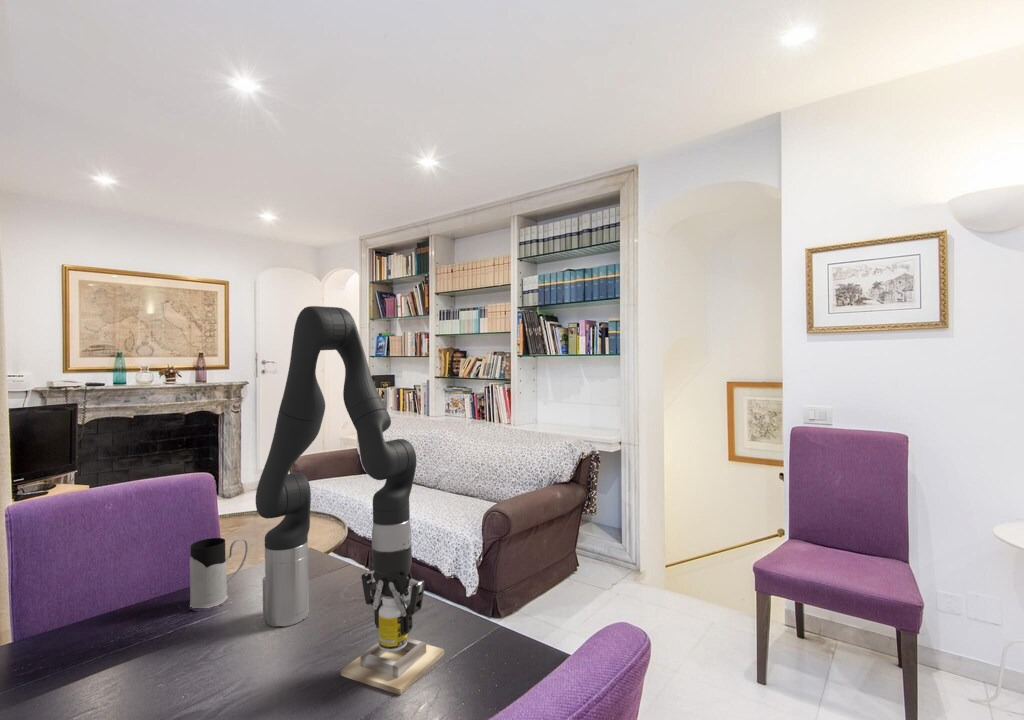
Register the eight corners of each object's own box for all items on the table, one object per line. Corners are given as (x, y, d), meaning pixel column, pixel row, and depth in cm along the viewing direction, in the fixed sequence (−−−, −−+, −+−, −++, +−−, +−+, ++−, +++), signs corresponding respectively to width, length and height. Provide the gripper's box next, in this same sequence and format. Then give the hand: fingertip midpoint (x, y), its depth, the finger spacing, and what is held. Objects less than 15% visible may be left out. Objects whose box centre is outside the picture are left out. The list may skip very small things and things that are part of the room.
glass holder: (181, 605, 127) (180, 544, 127) (239, 584, 138) (238, 529, 139) (198, 615, 122) (197, 551, 122) (256, 592, 133) (256, 534, 134)
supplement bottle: (400, 654, 97) (399, 602, 97) (374, 651, 98) (373, 600, 98) (412, 639, 102) (410, 589, 102) (386, 636, 103) (385, 588, 103)
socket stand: (340, 675, 97) (340, 659, 97) (388, 639, 109) (388, 625, 109) (400, 695, 91) (400, 678, 91) (444, 654, 103) (443, 639, 103)
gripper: (350, 544, 100) (351, 631, 100) (410, 554, 94) (411, 647, 94) (375, 532, 107) (377, 614, 107) (433, 541, 101) (435, 628, 100)
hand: (393, 629), depth 100 cm, fingers closed on supplement bottle, 5 cm apart
